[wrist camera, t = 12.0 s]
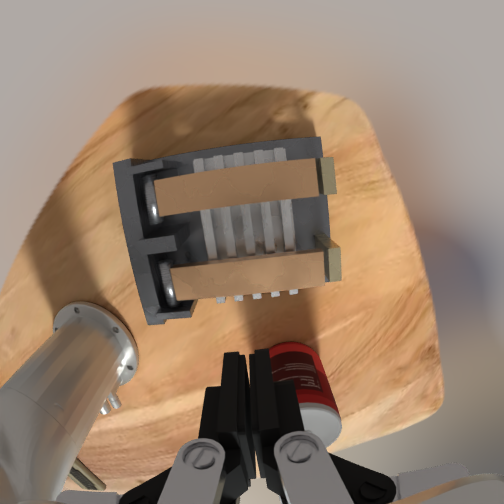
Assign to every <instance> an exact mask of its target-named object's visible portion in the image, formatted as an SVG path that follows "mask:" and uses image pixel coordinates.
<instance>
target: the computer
mask: <svg viewBox="0 0 504 504" xmlns="http://www.w3.org/2000/svg"><path fill="white" fill-rule="evenodd" d="M68 476H69V477H70V478H71V479H72V480H73V481H74V482H75V483H76V484H78V485H79V486H80V487H81V488H82V489H87V490H101V491H104V490H105V489H106V485H105V484H104V483H103V482H102V481H101V480H99V479H98V478H97V477H96V476H95V475H94V474H93V473H92V472H91V471H90V470H89V469H88V468H87V467H86V466H85V465H84V464H83V463H82V462H81V461H80V460H79V459H77V457H76V459H75V461H74V463H73V465H72V467H71V470H70V472H69V474H68Z"/></svg>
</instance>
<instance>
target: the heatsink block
mask: <svg viewBox="0 0 504 504" xmlns="http://www.w3.org/2000/svg"><path fill="white" fill-rule="evenodd" d="M311 158H315V162H316V171H317V180H318V190H319V196H317V197H307V198H297V199H287V200H278V201H269V202H261V203H252V204H244V205H237V206H229V207H221V208H214V209H207V210H200V211H193V212H186V213H180V214H173V215H167V216H164V222H162V223H158V224H152V225H150V223H149V217H148V212H147V206H146V200H145V194H144V188H143V181H142V176H147V175H152V174H157V179H158V180H160V179H165V178H170V177H175V176H181V175H186V174H192V173H198V172H204V171H210V170H217V169H224V168H231V167H238V166H245V165H253V164H261V163H270V162H279V161H289V160H300V159H311ZM113 169H114V176H115V183H116V189H117V196H118V202H119V207H120V213H121V218H122V223H123V229H124V233H125V238H126V243H127V248H128V252H129V256H130V261H131V265H132V269H133V273H134V277H135V281H136V285H137V289H138V293H139V296H140V300H141V303H142V307H143V310H144V314H145V317H146V321H147V324H148V325H157V324H165V322H166V320H167V319H177V318H189V317H192V314H193V312H194V309H195V306H196V304H197V301H198V299H193V300H181V304H180V305H178V306H176V307H169V306H168V305H167V301H166V297H165V293H164V289H163V284H162V280H161V276H160V271H159V267H158V262H159V261H161V260H165V259H171V260H172V263H173V265H176V264H185V263H194V262H203V261H212V260H221V259H230V258H239V257H248V256H256V255H265V254H274V253H283V252H292V251H301V250H309V249H318V248H321V249H322V250H323V254H324V272H325V282H335V281H341V250H340V247H339V246H338V245H337V244H336V243H335V242H334V241H333V240H331V239H330V225H329V212H328V200H327V195H329V194H337V190H336V179H335V170H334V160H333V157H327V158H323V152H322V144H321V137H308V138H294V139H283V140H273V141H264V142H255V143H247V144H239V145H232V146H225V147H218V148H212V149H206V150H200V151H194V152H188V153H183V154H178V155H173V156H168V157H163V158H158V159H153V160H145V159H131V158H130V159H126V160H122V161H118V162H115V163H113ZM288 291H289V294H290V295H291V294H298V289H294V290H288ZM276 296H280V293H279V291H276V292H271V297H276ZM234 298H235V301H243V295H238V296H234ZM260 298H261V293H258V294H253V299H260ZM216 300H217V303H225V301H226V297H216Z"/></svg>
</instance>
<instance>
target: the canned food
mask: <svg viewBox="0 0 504 504" xmlns="http://www.w3.org/2000/svg"><path fill="white" fill-rule="evenodd" d="M269 353H270V361H271V368H272V376H273V382H274V381H283V380H290V379H293V380H294V384H295V389H296V393H297V398H298V402H299V407H300V411H301V416H302V420H303V425H304V429H305V431H306V432H310V433H313V434H315V435H316V436H318V437H319V438H320V439H321V440H322V442H323V443H324V445H325V448H326V447H328V446H330V445H331V444H332V443H333V442H334V441H335V440H336V439H337V438H338V437H339V435H340V433H341V429H342V424H341V418H340V415H339V411H338V408H337V405H336V402H335V399H334V396H333V394H332V391H331V388H330V385H329V382H328V379H327V376H326V374H325V371H324V368H323V365H322V362H321V360H320V358H319V356H318V355H317V354H316V352H315V351H314V350H313V349H311V348H310V347H309V346H307V345H305V344H302V343H298V342H284V343H280V344H277V345H275V346H273V347H271V348H270V349H269Z"/></svg>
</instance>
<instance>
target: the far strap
mask: <svg viewBox="0 0 504 504" xmlns="http://www.w3.org/2000/svg"><path fill="white" fill-rule="evenodd" d="M158 267H159V271H160V276H161V280H162V284H163V289H164V293H165V297H166V301H167V305H168V306H169V307H176V306H178V305H180V304H181V300H193V299H205V298H216V297H227V296H238V295H248V294H258V293H267V292H276V291H285V290H294V289H302V288H310V287H318V286H325V272H324V254H323V250H322V249H321V248H318V249H309V250H301V251H292V252H283V253H274V254H265V255H256V256H248V257H239V258H230V259H221V260H212V261H203V262H194V263H185V264H176V265H173V263H172V260H171V259H165V260H161V261H159V262H158Z"/></svg>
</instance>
